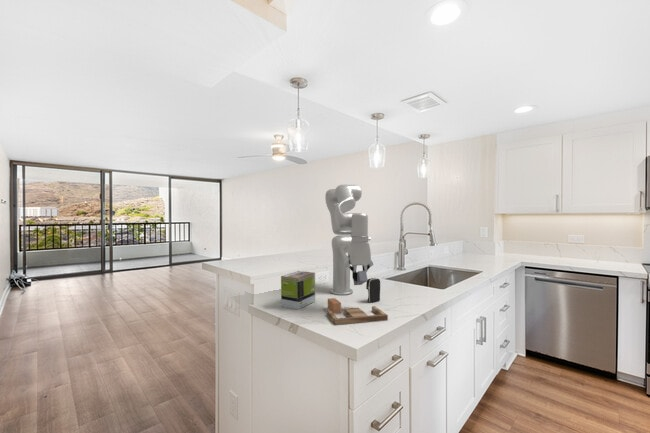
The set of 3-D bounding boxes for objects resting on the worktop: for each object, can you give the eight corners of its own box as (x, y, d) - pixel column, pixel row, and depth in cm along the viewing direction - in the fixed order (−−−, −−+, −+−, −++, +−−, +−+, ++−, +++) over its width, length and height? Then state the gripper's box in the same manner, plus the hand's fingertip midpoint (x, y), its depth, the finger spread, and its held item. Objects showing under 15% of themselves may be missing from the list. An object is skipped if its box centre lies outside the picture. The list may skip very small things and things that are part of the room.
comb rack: (326, 314, 129) (326, 310, 129) (374, 310, 135) (374, 306, 135) (335, 325, 117) (335, 319, 117) (387, 320, 123) (387, 315, 123)
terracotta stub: (327, 308, 138) (327, 298, 138) (334, 307, 140) (334, 298, 139) (333, 313, 131) (333, 303, 131) (340, 313, 132) (341, 302, 132)
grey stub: (354, 285, 138) (352, 275, 140) (361, 284, 139) (359, 275, 141) (360, 281, 131) (358, 271, 133) (367, 280, 132) (365, 270, 134)
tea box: (299, 298, 153) (299, 270, 153) (315, 302, 148) (315, 272, 148) (280, 306, 140) (280, 275, 140) (297, 310, 135) (297, 277, 135)
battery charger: (375, 299, 153) (375, 276, 153) (380, 300, 150) (380, 278, 150) (365, 301, 149) (365, 278, 149) (370, 303, 146) (370, 279, 146)
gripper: (372, 239, 143) (372, 277, 143) (339, 239, 138) (339, 279, 138) (379, 240, 135) (379, 281, 135) (345, 241, 131) (345, 283, 131)
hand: (359, 279), depth 137 cm, fingers closed on grey stub, 3 cm apart
